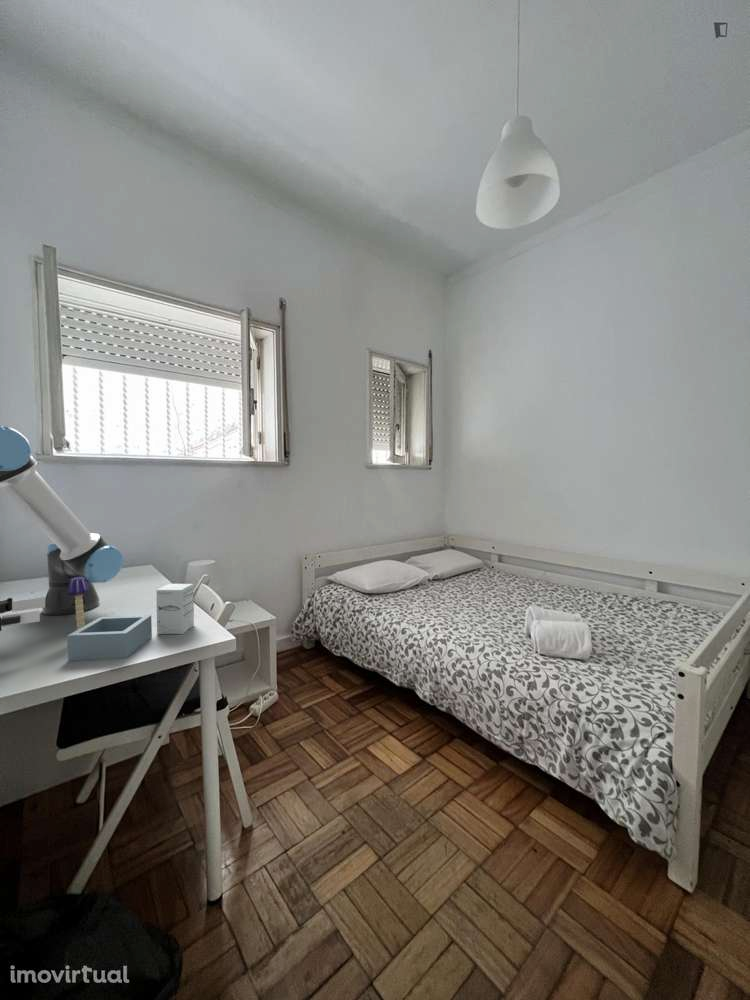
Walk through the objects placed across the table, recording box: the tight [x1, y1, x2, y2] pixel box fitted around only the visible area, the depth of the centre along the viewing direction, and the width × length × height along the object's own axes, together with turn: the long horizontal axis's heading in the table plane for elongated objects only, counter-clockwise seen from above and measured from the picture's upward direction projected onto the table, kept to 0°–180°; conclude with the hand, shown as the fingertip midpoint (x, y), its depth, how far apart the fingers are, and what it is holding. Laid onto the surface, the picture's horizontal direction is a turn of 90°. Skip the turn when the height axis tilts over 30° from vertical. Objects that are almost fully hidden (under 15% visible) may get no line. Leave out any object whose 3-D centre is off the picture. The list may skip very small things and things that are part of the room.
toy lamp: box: [67, 577, 89, 630], centre depth 104 cm, size 5×5×17 cm
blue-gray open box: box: [66, 614, 153, 662], centre depth 99 cm, size 13×13×6 cm
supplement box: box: [156, 583, 195, 635], centre depth 111 cm, size 7×7×13 cm
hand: (42, 608), depth 99 cm, fingers open, 13 cm apart
